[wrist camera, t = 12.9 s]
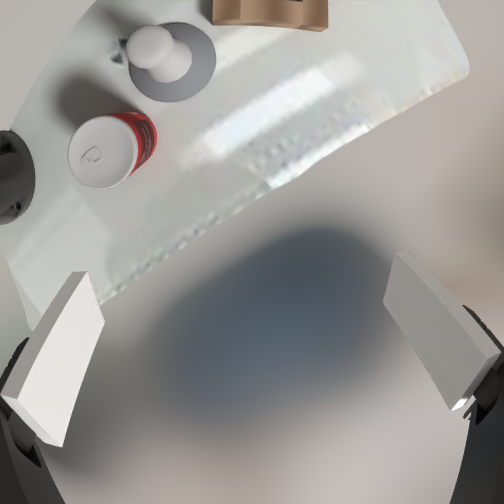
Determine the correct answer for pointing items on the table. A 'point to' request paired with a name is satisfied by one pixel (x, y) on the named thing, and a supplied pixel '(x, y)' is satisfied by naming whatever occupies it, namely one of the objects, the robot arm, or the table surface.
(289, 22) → the collar block
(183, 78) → the coaster
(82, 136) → the canned food
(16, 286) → the table surface
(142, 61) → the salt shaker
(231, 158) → the table surface
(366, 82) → the table surface
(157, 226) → the table surface
